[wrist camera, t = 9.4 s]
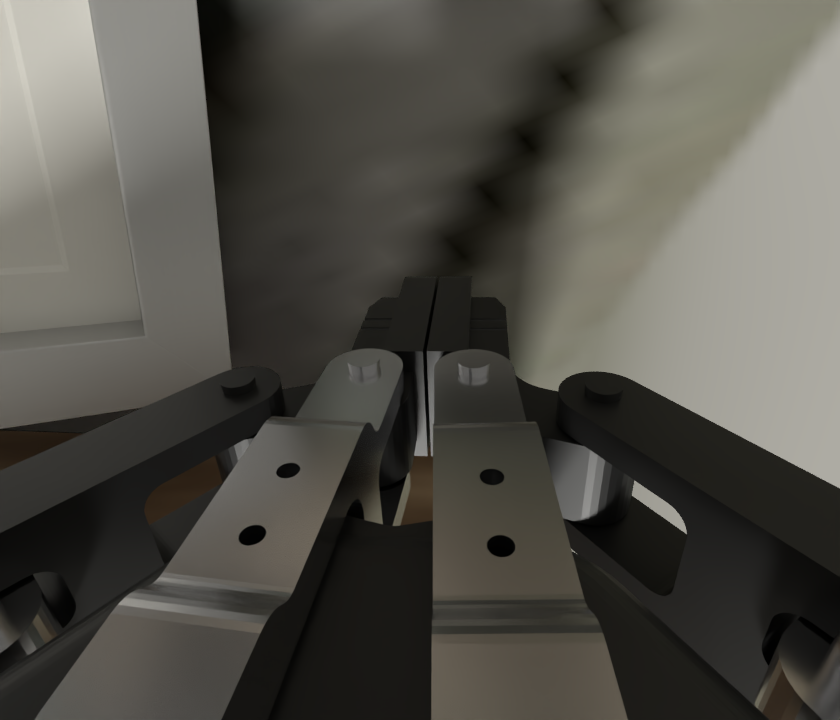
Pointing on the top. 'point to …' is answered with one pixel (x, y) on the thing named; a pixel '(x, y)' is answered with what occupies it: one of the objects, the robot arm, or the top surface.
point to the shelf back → (205, 477)
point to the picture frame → (105, 209)
